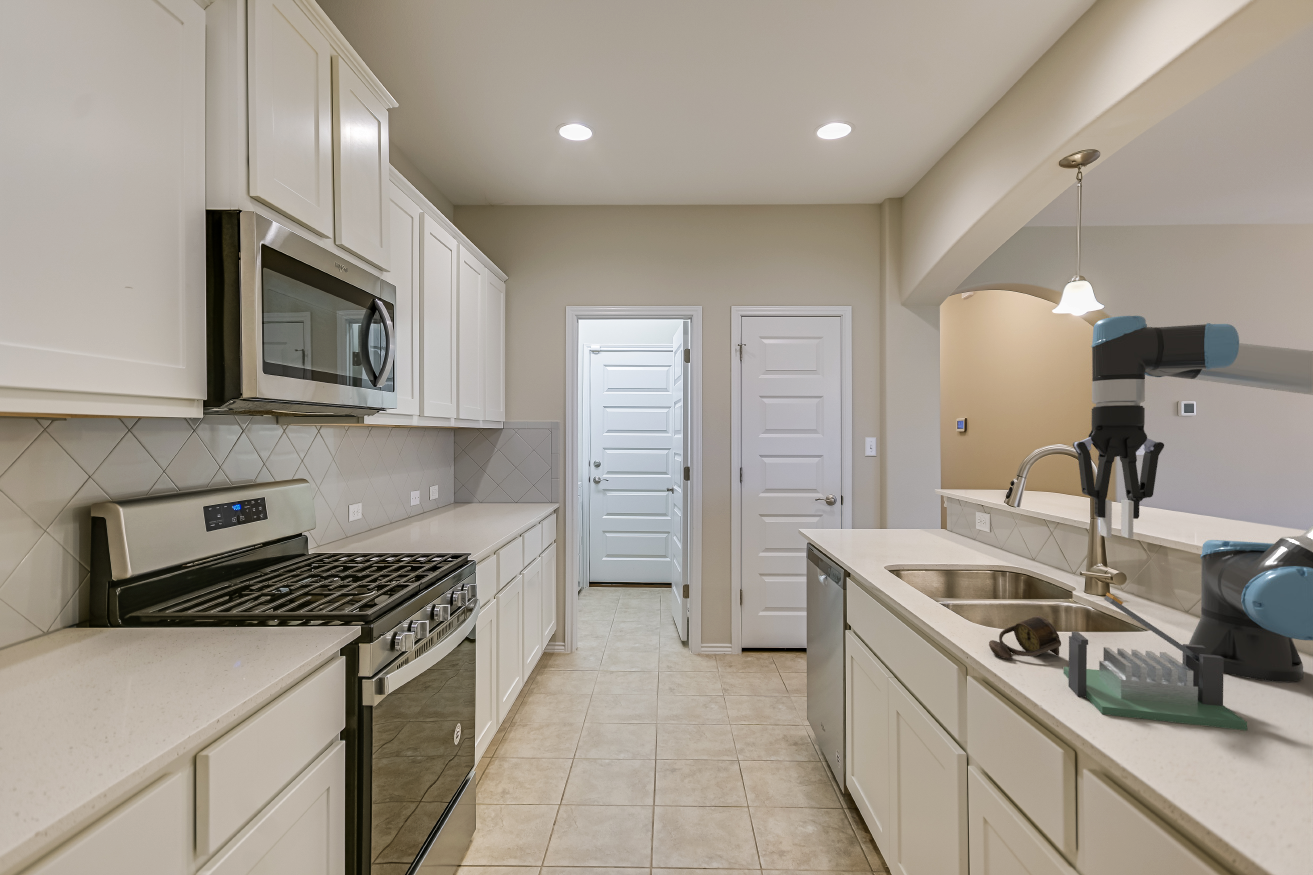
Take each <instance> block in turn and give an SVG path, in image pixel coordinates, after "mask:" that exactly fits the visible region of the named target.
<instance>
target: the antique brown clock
mask: <svg viewBox="0 0 1313 875" xmlns="http://www.w3.org/2000/svg"><path fill="white" fill-rule="evenodd" d="M1012 632H1013V633H1014V636H1015V638H1016V641H1017V643H1018V645H1019V646H1020V648H1022V649H1023V650H1020V649H1015V648H1013V647H1011V646H1009V645H1008V644H1006V643H1005V642H1004V641H1003V638H1004V636H1005V635H1006V634H1009V633H1012ZM998 640H999V641H997V640H993V639H991V640H990V641H989V642H988V646H989V648H990V650H991V652H992V653H993V654H994V656H997V657H999V658H1000V659H1004V660H1011V658H1012V659H1013V654H1014V655H1017V656H1020V657H1035V656H1039V655H1041V654H1044V653H1047V652H1050V653H1052V654H1054V655H1055V656H1057V657H1060V647H1061V645H1062V642H1061V639H1060V635H1059V633H1058V631H1057V629H1056V627H1055V626H1054V625H1053V624H1052V623H1051V622H1050V621H1049V620H1048V619H1046V618H1045V617H1042V616H1040V615H1039V616H1038V615H1035V616H1033V617H1030V618H1027V619H1026V620H1023V621H1020V622H1018V623H1016V624H1015V625H1012V626H1009V627H1007V628H1004V629H1003V630H1002V631H1000V633H999V635H998Z"/></svg>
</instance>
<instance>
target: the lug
mask: <svg viewBox="0 0 1313 875" xmlns="http://www.w3.org/2000/svg"><path fill="white" fill-rule="evenodd" d="M1088 646H1089V639H1088V638H1087V637H1085V636H1084V635H1083V634H1082V633H1080V632H1079V631H1071V635H1068V667H1069V679H1068V688H1070V689H1071V691H1072V692H1073V693H1074V694H1075V695H1076V696H1077V697H1079V698H1086V676H1087V669H1088V667H1087V662H1088V661H1087V657H1088V656H1087V654H1088V653H1087V652H1088V650H1087V649H1088V648H1087V647H1088Z"/></svg>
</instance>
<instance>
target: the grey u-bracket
mask: <svg viewBox="0 0 1313 875" xmlns="http://www.w3.org/2000/svg"><path fill="white" fill-rule="evenodd" d="M1182 645H1183V646H1184V647H1186V648H1187V649H1189V650H1190V651H1192V652H1193V653H1195V654H1197V655H1199V663H1198V662H1196V661H1195V660H1193V659H1192V658H1191V657H1190V656H1188V655H1187V654H1185V653H1184V652H1182V662H1181V663H1182V664H1184V665H1185V666H1187V667H1188V668H1190V669H1191V670H1193V684H1194V685H1196V686H1197V687H1198V701H1199V702H1200V703H1202V704H1207V705H1217V706H1223V705H1224V674H1225V672H1224V658H1223V657H1221V656H1216V655H1206V648H1205V647H1204V646H1202V645H1190V644H1189V643H1187V644H1186V643H1182Z"/></svg>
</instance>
